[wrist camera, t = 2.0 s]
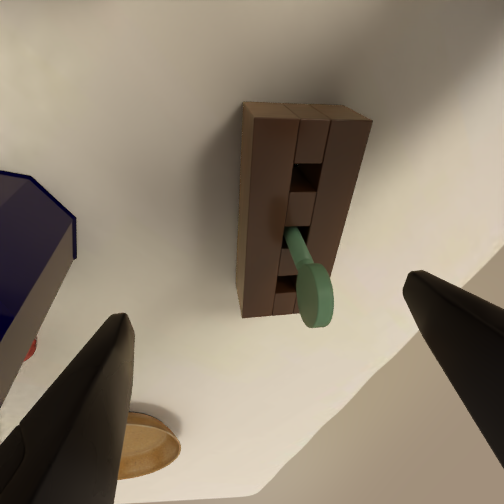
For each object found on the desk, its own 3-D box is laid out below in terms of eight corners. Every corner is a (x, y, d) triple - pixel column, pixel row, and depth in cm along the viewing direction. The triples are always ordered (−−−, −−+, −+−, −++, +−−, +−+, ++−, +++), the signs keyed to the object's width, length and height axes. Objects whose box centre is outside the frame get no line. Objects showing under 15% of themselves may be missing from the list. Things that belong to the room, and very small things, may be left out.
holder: (343, 104, 20) (373, 120, 17) (306, 279, 28) (321, 311, 25) (242, 101, 19) (254, 117, 15) (235, 284, 27) (241, 318, 24)
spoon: (290, 193, 23) (342, 297, 15) (283, 232, 25) (325, 339, 17) (276, 193, 23) (321, 298, 15) (270, 233, 25) (307, 341, 17)
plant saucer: (155, 462, 45) (153, 483, 43) (41, 455, 39) (32, 480, 37) (200, 410, 39) (201, 432, 37) (73, 392, 32) (65, 417, 30)
